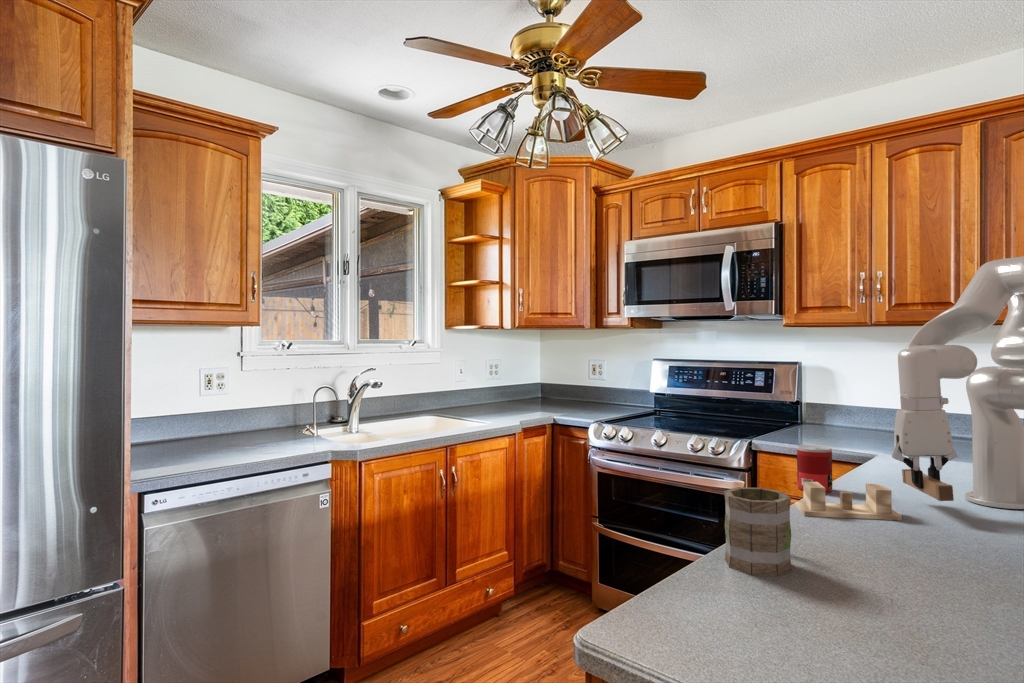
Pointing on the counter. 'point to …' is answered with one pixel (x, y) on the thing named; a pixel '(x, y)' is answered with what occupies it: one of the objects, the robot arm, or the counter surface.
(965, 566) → the counter surface
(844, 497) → the display stand
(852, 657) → the counter surface
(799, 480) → the canned food
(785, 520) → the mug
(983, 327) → the robot arm
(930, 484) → the frame bar
